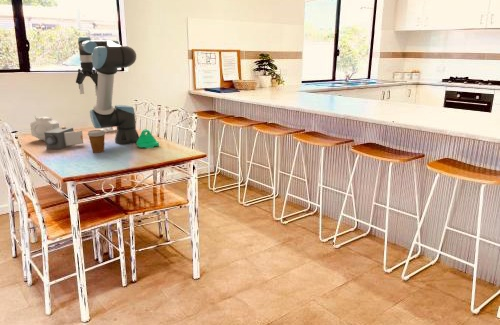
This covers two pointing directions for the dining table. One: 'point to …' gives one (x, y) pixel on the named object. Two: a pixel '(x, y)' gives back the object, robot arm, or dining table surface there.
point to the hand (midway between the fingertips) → (89, 94)
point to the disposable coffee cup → (97, 140)
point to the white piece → (108, 129)
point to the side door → (73, 138)
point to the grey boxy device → (56, 138)
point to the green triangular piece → (146, 140)
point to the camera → (42, 126)
